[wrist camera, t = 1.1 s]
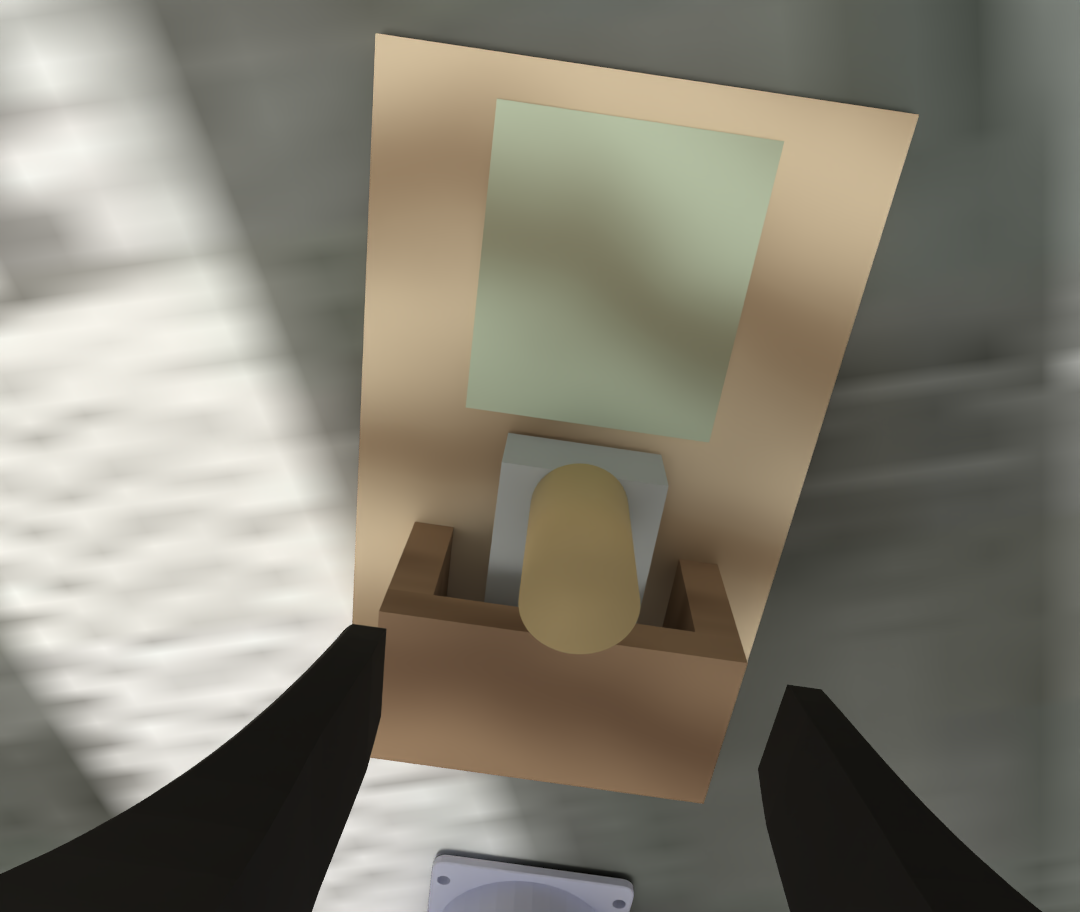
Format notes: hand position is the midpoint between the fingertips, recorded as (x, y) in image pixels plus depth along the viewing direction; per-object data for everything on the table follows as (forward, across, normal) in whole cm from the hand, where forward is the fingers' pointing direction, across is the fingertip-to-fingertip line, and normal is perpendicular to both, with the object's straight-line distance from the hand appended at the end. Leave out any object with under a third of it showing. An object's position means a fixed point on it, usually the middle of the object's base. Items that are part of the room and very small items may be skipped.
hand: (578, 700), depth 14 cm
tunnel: (+10, 0, +5) cm, 11 cm away
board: (+10, 0, +1) cm, 10 cm away
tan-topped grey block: (+10, 0, +3) cm, 10 cm away
